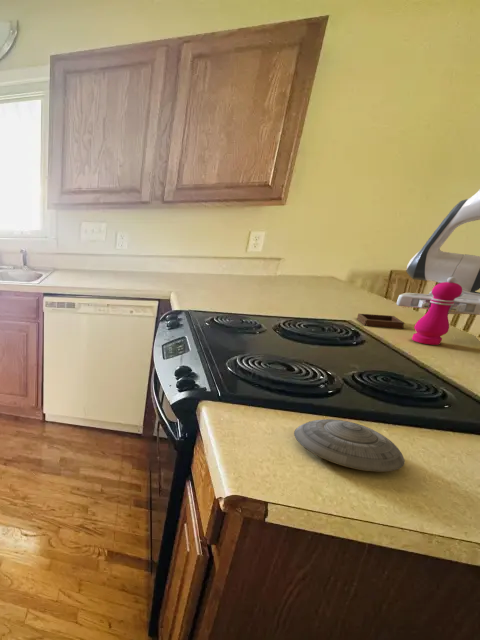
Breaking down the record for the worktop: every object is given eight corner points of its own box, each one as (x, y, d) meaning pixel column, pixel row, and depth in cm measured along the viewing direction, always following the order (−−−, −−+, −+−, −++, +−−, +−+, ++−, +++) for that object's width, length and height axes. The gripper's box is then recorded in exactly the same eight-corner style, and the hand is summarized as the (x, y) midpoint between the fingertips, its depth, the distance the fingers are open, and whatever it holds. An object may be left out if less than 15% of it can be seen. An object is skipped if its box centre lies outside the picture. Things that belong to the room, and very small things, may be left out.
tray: (392, 321, 144) (393, 315, 144) (402, 328, 136) (404, 322, 135) (356, 318, 149) (358, 313, 148) (364, 325, 141) (366, 319, 140)
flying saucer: (325, 424, 79) (332, 399, 77) (422, 465, 66) (433, 437, 64) (273, 440, 74) (279, 415, 73) (366, 488, 61) (377, 458, 59)
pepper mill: (435, 346, 118) (464, 280, 110) (404, 339, 124) (430, 276, 117) (447, 343, 121) (476, 278, 113) (416, 336, 127) (441, 274, 119)
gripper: (403, 286, 132) (395, 292, 124) (498, 294, 117) (496, 302, 109) (397, 305, 135) (389, 312, 127) (489, 315, 120) (487, 323, 112)
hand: (440, 307), depth 118 cm, fingers closed on pepper mill, 5 cm apart
